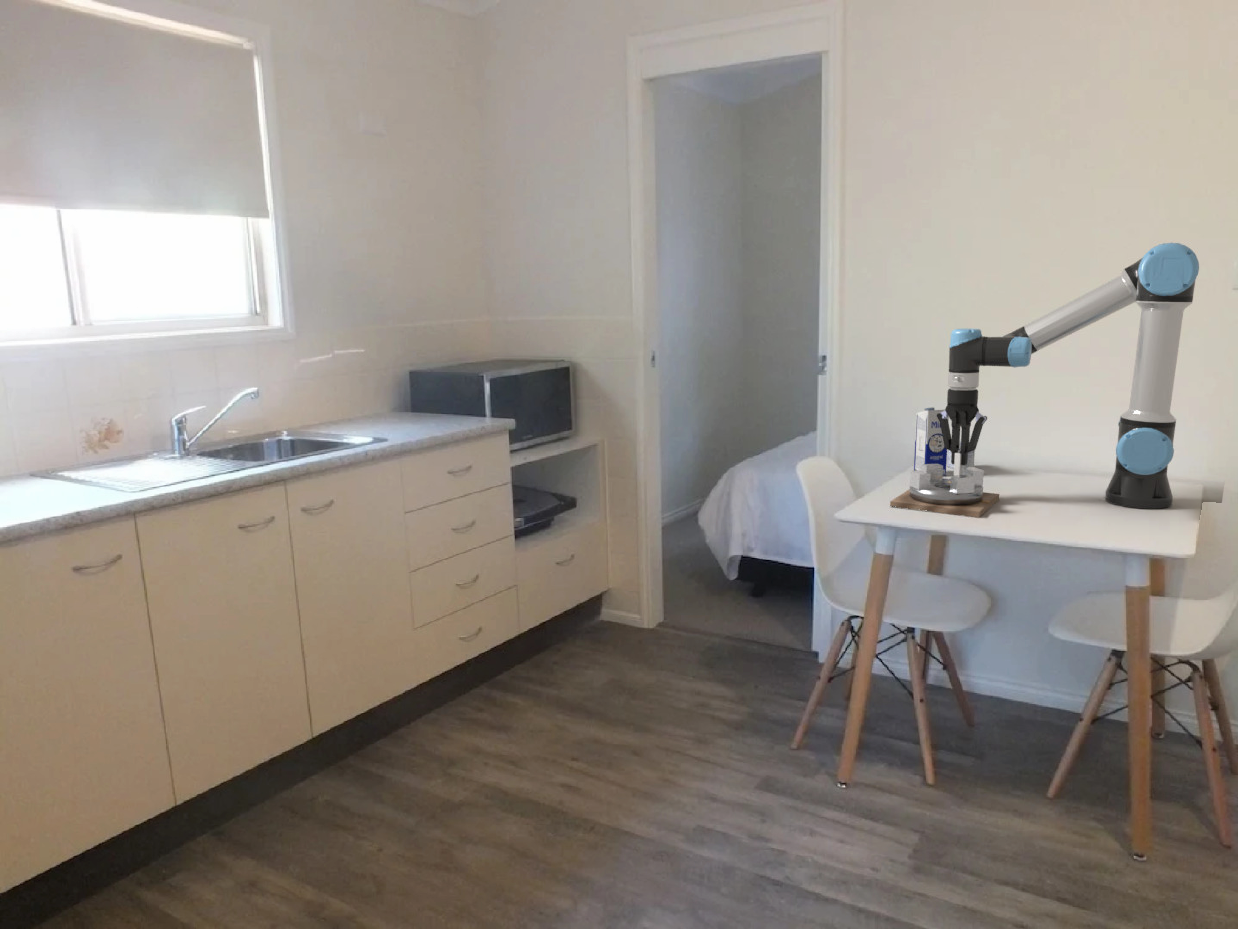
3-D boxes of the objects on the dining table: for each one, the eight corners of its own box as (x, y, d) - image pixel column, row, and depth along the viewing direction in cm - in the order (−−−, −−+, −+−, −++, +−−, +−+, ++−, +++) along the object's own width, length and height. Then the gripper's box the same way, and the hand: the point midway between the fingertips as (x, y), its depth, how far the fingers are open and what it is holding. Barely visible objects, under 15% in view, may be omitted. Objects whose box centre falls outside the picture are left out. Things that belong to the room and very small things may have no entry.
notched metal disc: (989, 493, 245) (991, 467, 243) (972, 508, 230) (974, 480, 229) (920, 486, 255) (922, 461, 253) (900, 499, 240) (901, 473, 239)
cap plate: (999, 499, 246) (999, 493, 245) (979, 517, 228) (979, 510, 227) (915, 490, 258) (915, 484, 257) (890, 507, 240) (890, 500, 239)
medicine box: (974, 470, 282) (975, 442, 280) (961, 471, 281) (962, 443, 279) (959, 466, 290) (960, 438, 288) (946, 466, 289) (947, 439, 287)
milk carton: (924, 476, 275) (927, 409, 271) (913, 472, 281) (916, 406, 277) (946, 475, 276) (949, 408, 272) (934, 471, 283) (937, 405, 279)
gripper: (932, 388, 244) (928, 475, 249) (981, 391, 236) (976, 482, 240) (945, 385, 250) (941, 471, 254) (993, 388, 241) (988, 477, 246)
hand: (958, 476), depth 247 cm, fingers closed
